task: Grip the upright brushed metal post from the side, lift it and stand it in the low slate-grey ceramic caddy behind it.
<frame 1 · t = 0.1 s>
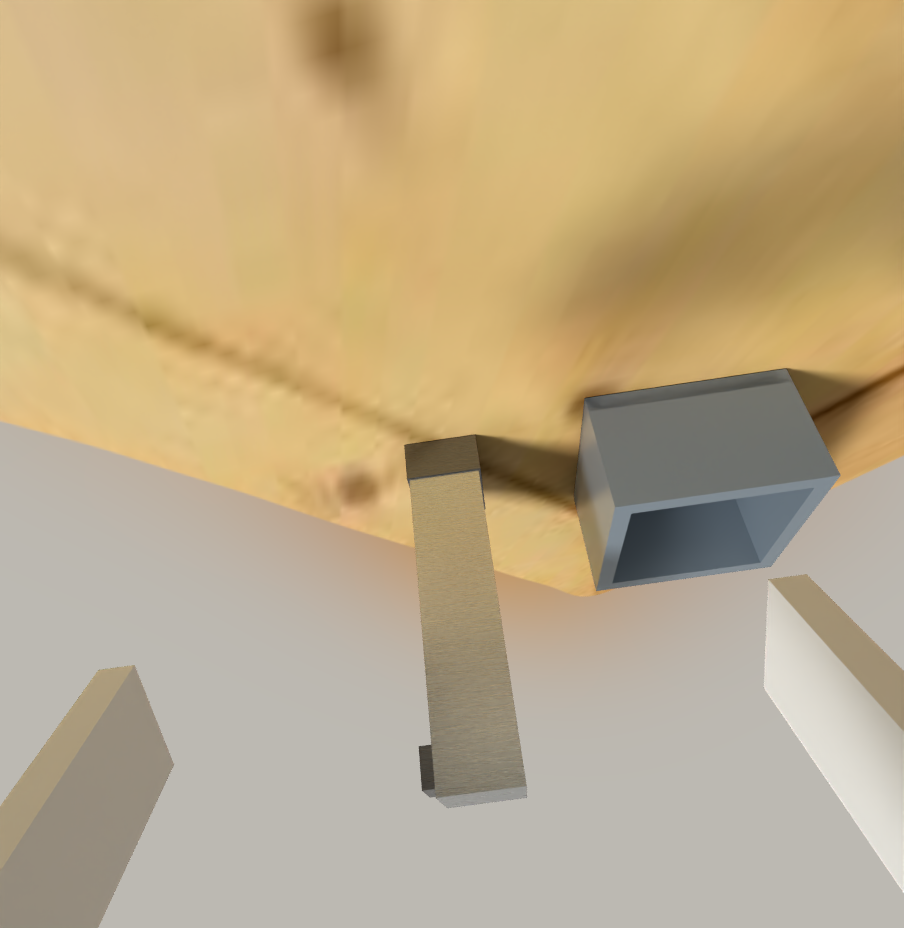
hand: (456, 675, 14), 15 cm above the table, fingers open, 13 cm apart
caddy: (667, 440, 35), on the table
brushed metal post: (444, 462, 35), on the table
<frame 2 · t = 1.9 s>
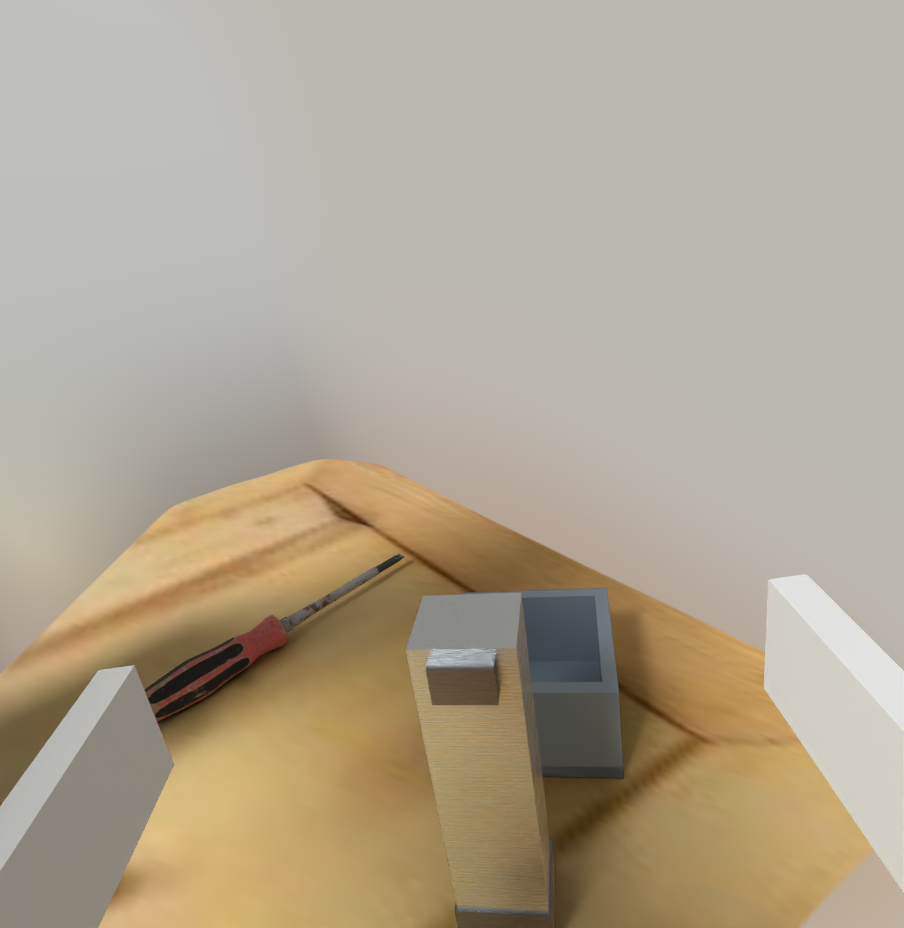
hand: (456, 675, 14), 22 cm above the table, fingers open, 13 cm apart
caddy: (538, 713, 41), on the table
screwdriver: (291, 641, 53), on the table
brushed metal post: (509, 902, 31), on the table
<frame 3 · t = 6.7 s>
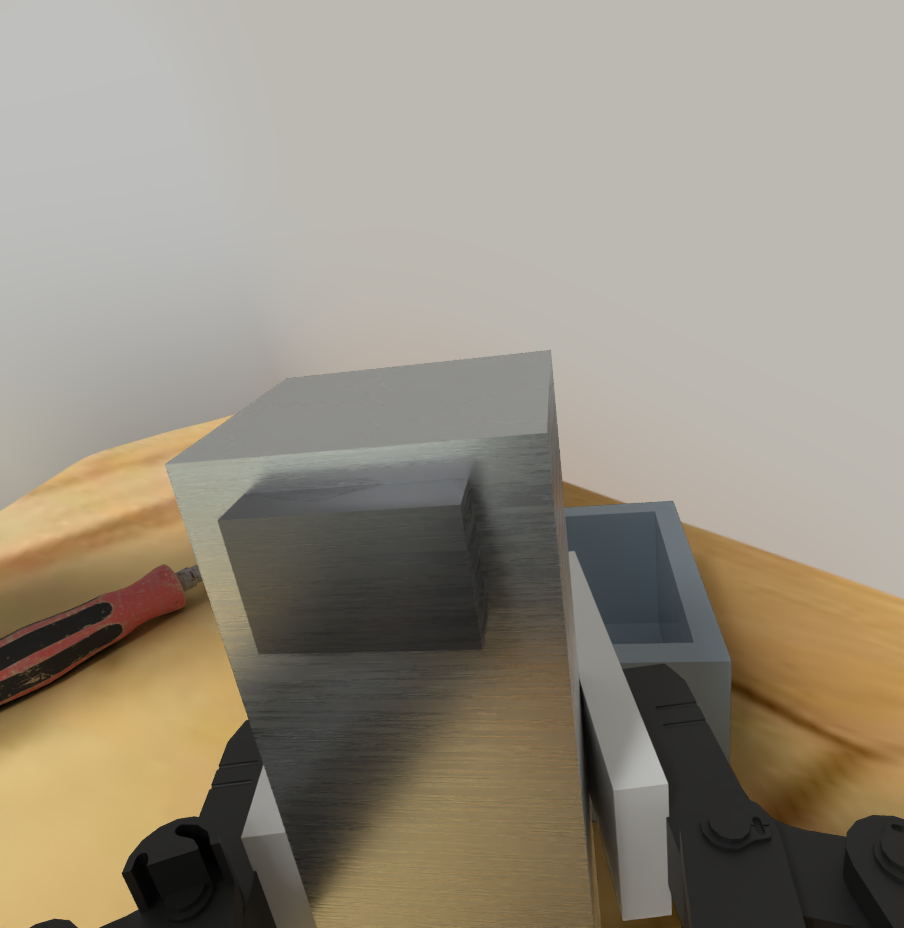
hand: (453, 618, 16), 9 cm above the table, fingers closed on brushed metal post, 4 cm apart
caddy: (563, 708, 25), on the table
screwdriver: (196, 604, 36), on the table
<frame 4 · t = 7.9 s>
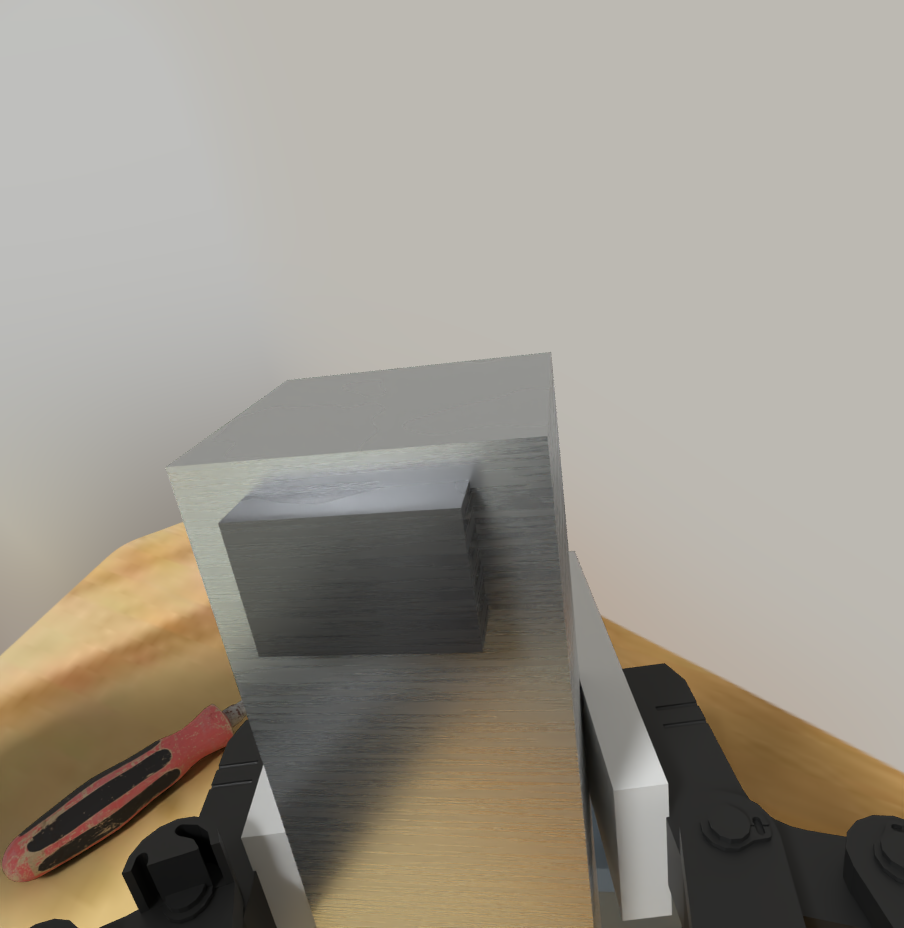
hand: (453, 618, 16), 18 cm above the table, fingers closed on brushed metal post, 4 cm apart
caddy: (580, 877, 28), on the table
screwdriver: (241, 736, 40), on the table
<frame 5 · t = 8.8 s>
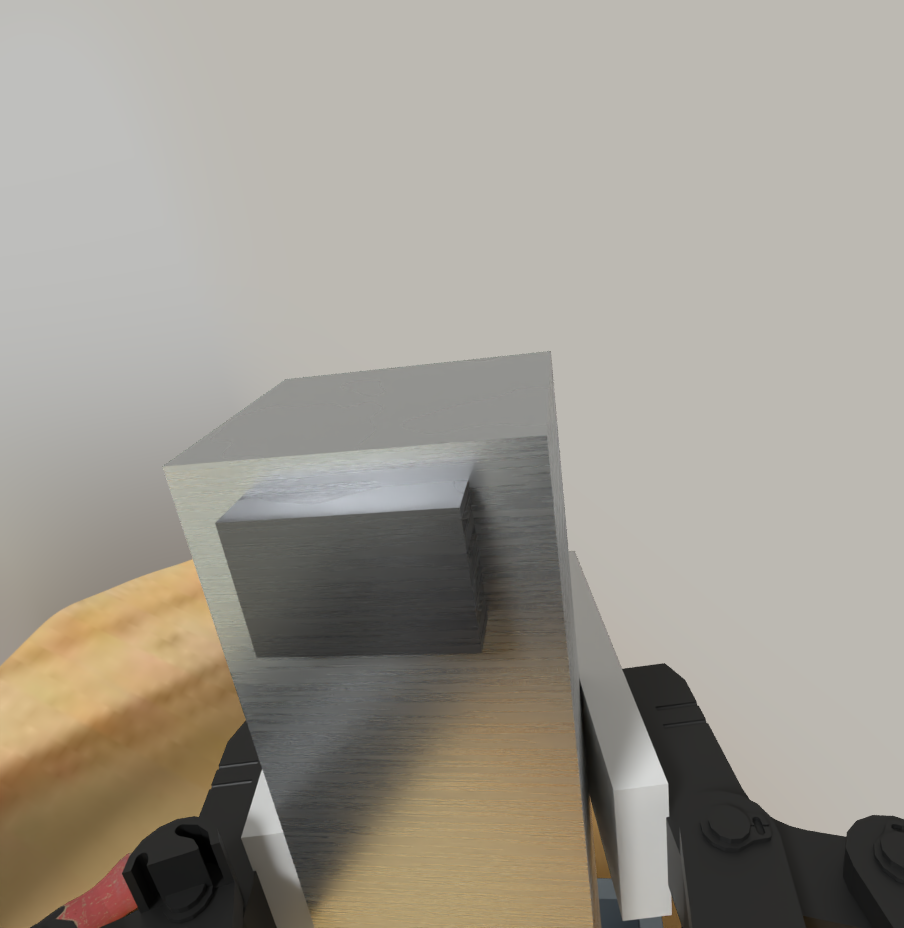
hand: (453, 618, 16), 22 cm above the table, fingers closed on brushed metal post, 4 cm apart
screwdriver: (165, 884, 35), on the table
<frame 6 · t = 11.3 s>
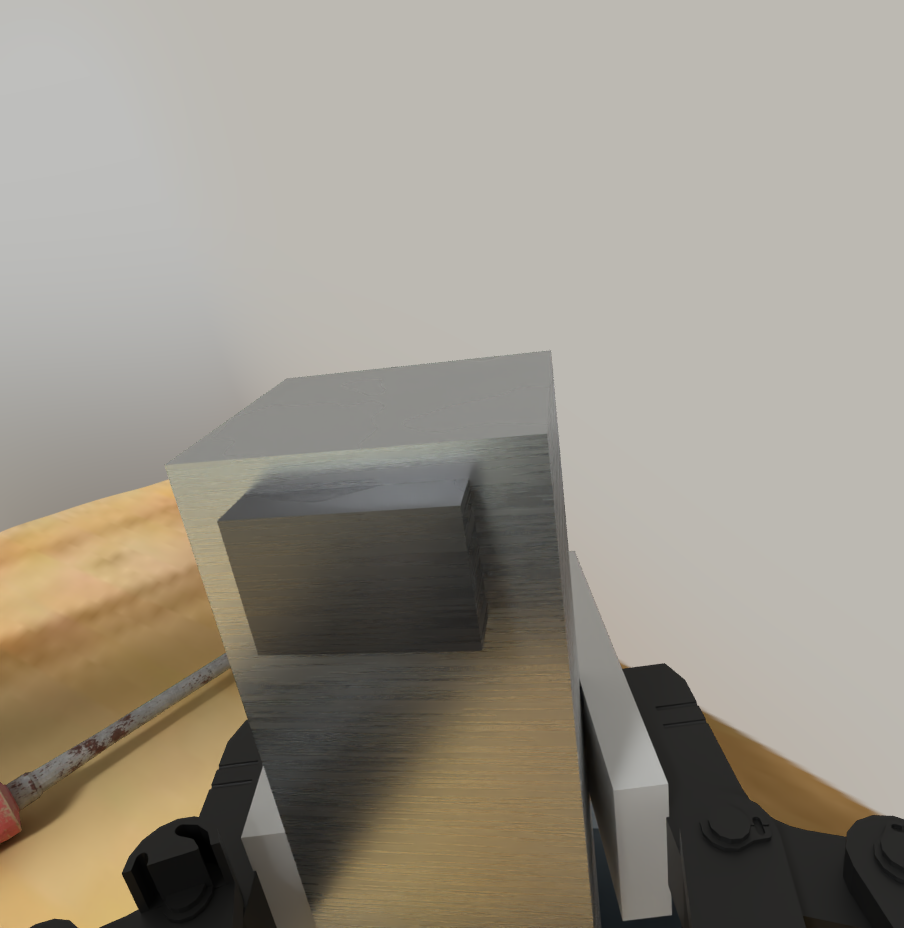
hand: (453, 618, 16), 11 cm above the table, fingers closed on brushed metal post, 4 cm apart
screwdriver: (43, 819, 27), on the table
when the fingers open (11 cm above the table, at t = 11.8 s): brushed metal post drops 1 cm, resting on caddy.
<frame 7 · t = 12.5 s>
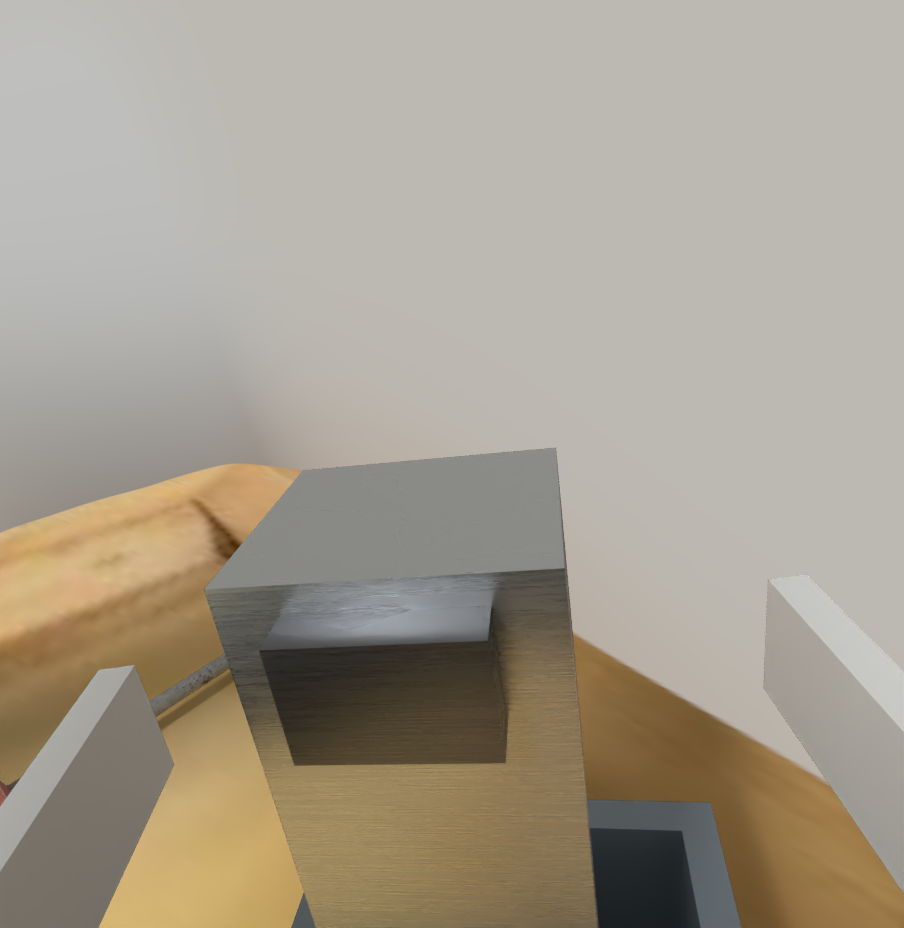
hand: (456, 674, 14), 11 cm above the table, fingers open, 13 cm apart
screwdriver: (45, 819, 27), on the table
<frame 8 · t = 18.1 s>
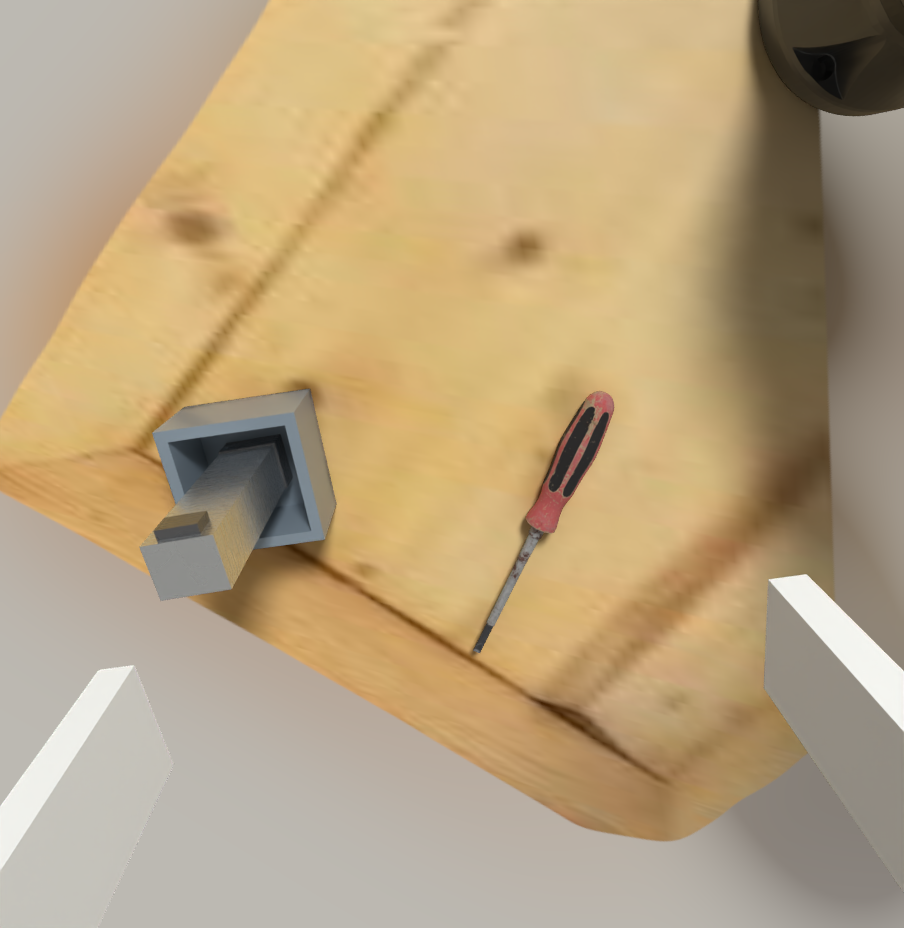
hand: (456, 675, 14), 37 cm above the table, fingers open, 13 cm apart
caddy: (262, 457, 51), on the table
screwdriver: (533, 522, 54), on the table
brushed metal post: (260, 460, 50), point 1 cm above the table, touching caddy
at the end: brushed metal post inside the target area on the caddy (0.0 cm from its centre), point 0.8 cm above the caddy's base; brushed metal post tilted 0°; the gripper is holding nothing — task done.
